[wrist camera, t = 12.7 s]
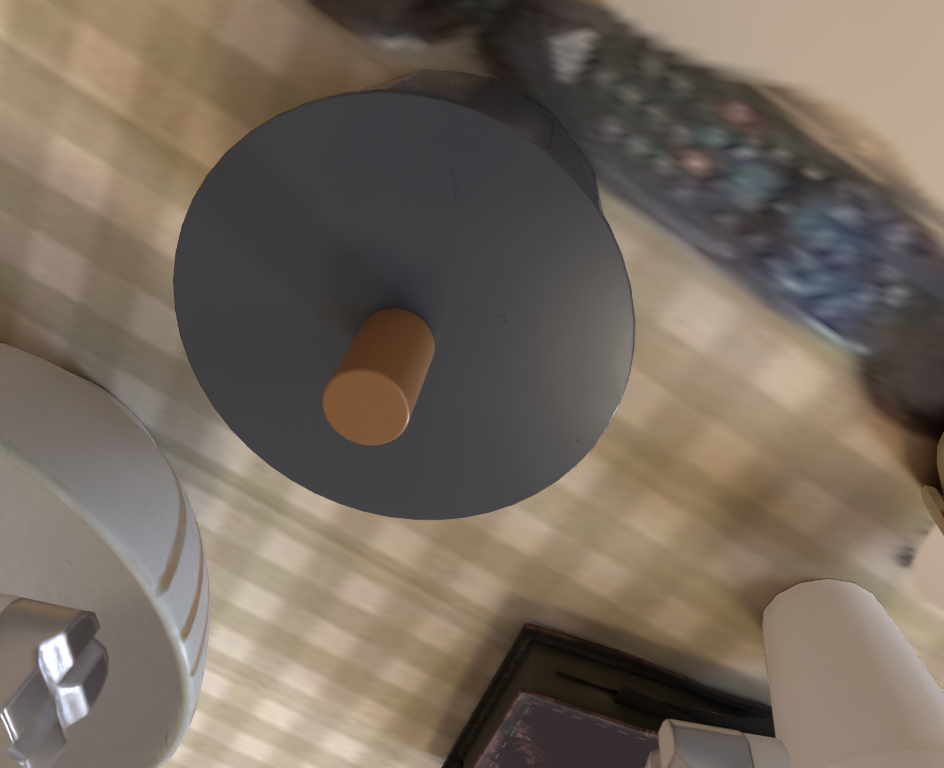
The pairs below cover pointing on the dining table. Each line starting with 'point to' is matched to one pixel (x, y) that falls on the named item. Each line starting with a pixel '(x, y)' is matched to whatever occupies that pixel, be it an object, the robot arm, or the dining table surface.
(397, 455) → the lid
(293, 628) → the dining table surface
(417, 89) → the pot
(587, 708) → the diary
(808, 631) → the foam cup
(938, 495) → the food model
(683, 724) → the robot arm
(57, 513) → the decorative bowl
